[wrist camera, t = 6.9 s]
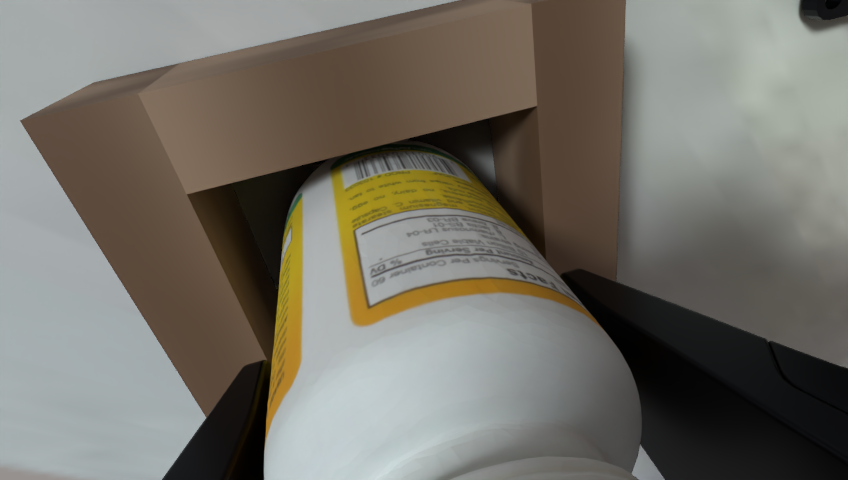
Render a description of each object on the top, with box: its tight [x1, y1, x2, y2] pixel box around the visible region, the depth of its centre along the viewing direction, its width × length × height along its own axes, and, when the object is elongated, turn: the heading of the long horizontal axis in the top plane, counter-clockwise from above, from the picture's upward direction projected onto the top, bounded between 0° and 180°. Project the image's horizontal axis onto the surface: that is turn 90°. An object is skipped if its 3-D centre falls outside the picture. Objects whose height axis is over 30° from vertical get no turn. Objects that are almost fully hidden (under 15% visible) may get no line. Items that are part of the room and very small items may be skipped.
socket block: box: [21, 0, 626, 418], centre depth 12 cm, size 10×10×3 cm
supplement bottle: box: [264, 139, 642, 480], centre depth 8 cm, size 5×5×10 cm
